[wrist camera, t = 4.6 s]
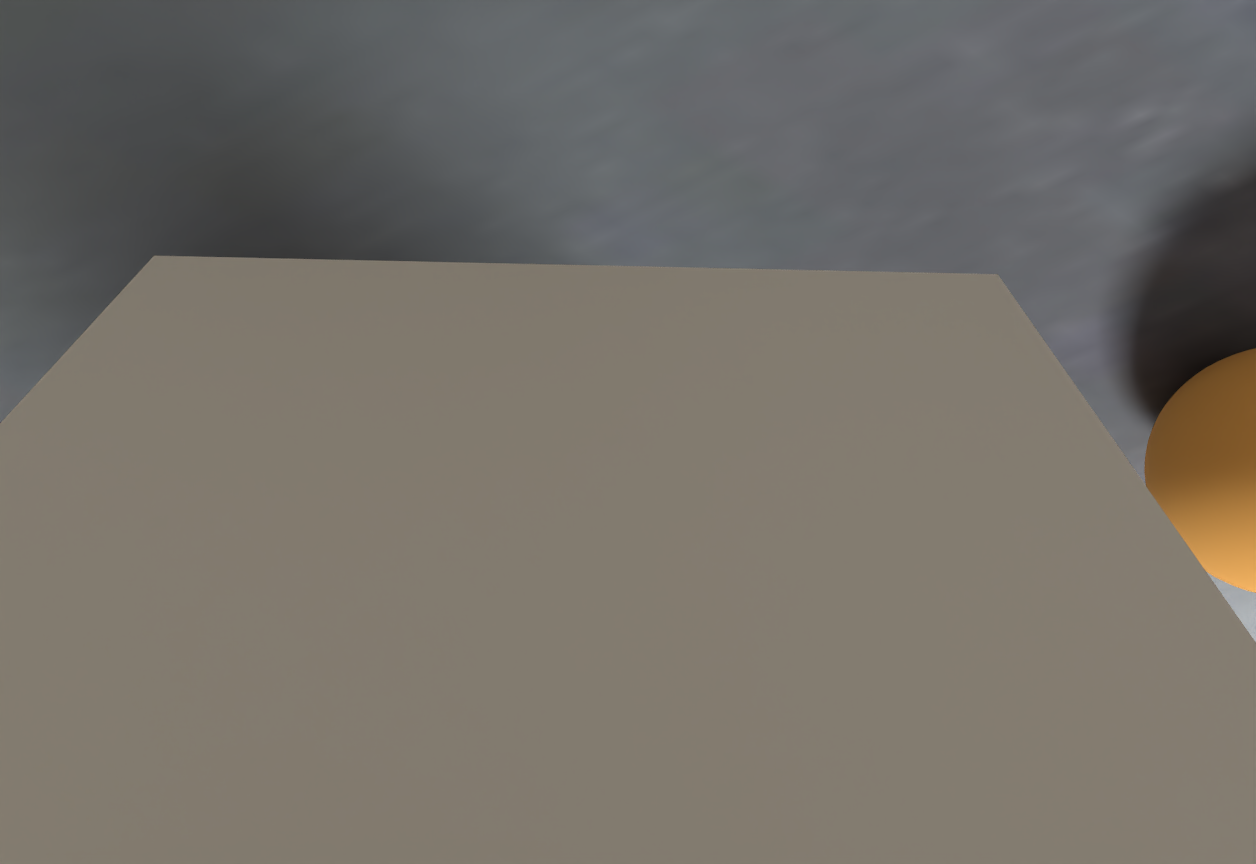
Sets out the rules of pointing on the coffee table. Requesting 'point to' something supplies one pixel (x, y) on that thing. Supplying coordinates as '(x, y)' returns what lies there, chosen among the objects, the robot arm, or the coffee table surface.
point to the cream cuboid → (596, 581)
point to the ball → (1211, 467)
